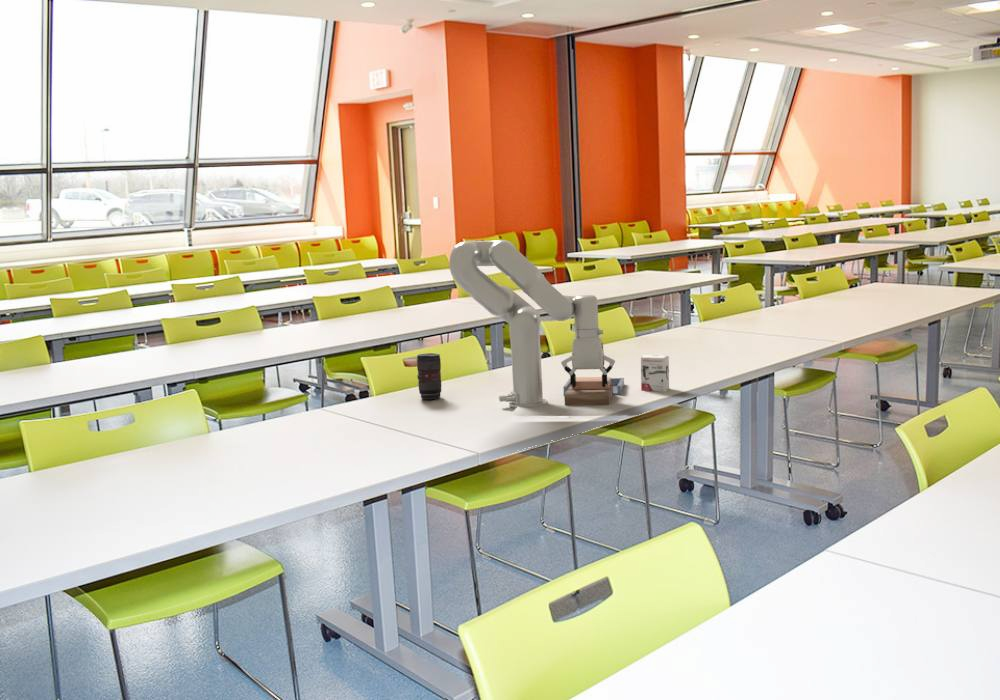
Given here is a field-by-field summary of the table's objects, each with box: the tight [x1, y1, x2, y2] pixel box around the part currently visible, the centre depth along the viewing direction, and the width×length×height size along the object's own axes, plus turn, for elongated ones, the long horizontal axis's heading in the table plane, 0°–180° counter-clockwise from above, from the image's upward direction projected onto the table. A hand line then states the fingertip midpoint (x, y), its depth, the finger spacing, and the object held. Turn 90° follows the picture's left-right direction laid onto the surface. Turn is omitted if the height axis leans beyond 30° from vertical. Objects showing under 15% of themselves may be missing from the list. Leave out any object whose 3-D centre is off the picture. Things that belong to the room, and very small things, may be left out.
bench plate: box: [563, 385, 614, 406], centre depth 291 cm, size 16×14×4 cm
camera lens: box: [416, 353, 442, 400], centre depth 309 cm, size 8×8×15 cm
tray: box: [563, 377, 625, 396], centre depth 306 cm, size 16×19×3 cm
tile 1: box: [572, 379, 610, 389], centre depth 293 cm, size 4×12×2 cm, turn 77°
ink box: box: [640, 354, 670, 393], centre depth 301 cm, size 9×5×12 cm, turn 62°
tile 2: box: [576, 376, 612, 385], centre depth 297 cm, size 4×12×2 cm, turn 77°
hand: (589, 386), depth 289 cm, fingers open, 9 cm apart
